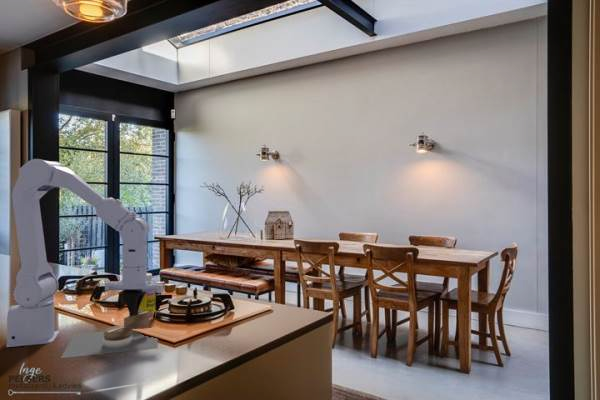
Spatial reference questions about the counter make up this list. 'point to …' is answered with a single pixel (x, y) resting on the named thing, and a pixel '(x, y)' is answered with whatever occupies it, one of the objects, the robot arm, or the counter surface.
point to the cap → (126, 327)
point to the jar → (117, 343)
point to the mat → (94, 346)
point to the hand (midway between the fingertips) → (133, 319)
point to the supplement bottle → (148, 300)
